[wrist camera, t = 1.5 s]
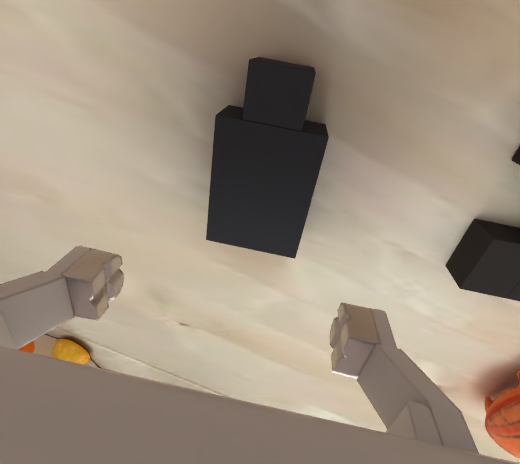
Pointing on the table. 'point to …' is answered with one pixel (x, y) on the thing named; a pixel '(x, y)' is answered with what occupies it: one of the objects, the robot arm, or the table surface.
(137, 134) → the table surface
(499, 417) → the pot
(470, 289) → the black notched square block
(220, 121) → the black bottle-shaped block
